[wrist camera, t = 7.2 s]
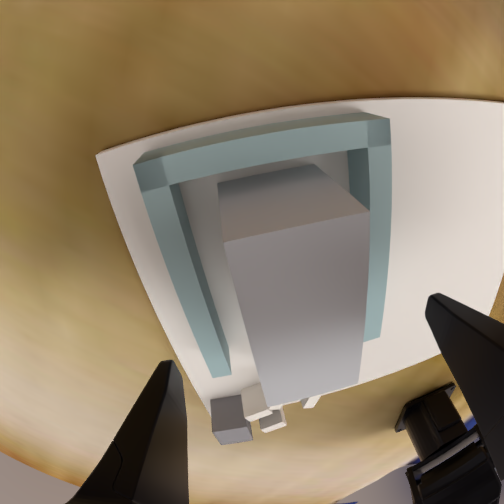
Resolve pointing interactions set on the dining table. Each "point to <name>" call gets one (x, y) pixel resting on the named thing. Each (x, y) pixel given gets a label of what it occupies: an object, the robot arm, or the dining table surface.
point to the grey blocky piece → (229, 420)
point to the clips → (267, 408)
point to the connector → (298, 278)
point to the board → (336, 166)
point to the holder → (257, 153)
